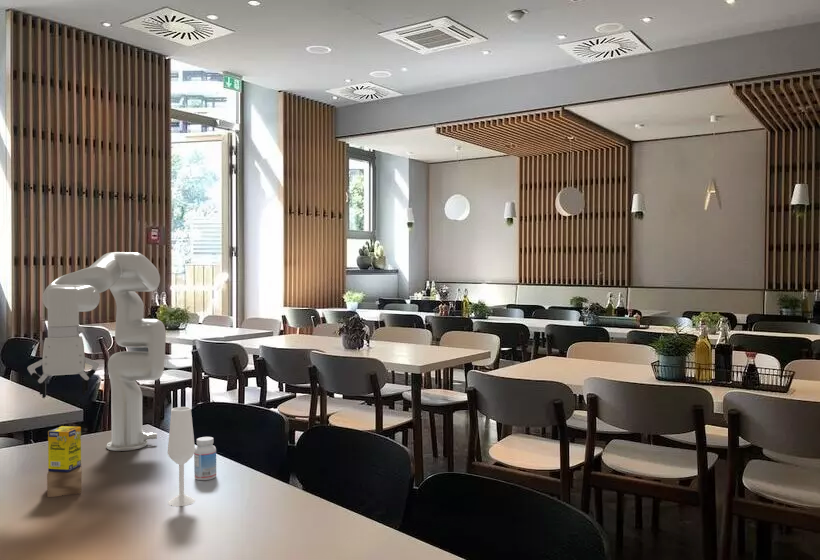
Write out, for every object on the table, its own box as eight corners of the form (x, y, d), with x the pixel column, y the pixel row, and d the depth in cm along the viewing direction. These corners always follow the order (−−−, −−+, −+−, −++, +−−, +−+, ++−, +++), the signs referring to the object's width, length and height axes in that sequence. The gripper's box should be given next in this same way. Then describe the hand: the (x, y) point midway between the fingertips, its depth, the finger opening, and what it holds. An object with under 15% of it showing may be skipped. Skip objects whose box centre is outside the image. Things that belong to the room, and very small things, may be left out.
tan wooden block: (81, 484, 190) (81, 463, 190) (81, 493, 183) (81, 471, 183) (49, 488, 187) (49, 466, 187) (47, 498, 180) (47, 475, 180)
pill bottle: (219, 474, 200) (219, 436, 199) (211, 481, 193) (211, 441, 193) (199, 474, 200) (199, 435, 200) (190, 480, 194) (190, 441, 194)
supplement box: (68, 472, 182) (68, 431, 182) (47, 472, 183) (47, 431, 182) (82, 466, 188) (81, 426, 187) (61, 465, 189) (61, 425, 188)
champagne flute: (194, 495, 181) (194, 405, 181) (196, 504, 175) (195, 410, 175) (167, 498, 179) (166, 407, 178) (168, 507, 173) (167, 412, 172)
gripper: (98, 329, 193) (99, 390, 193) (28, 332, 186) (29, 395, 186) (98, 332, 186) (99, 395, 186) (25, 335, 179) (26, 400, 179)
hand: (64, 395), depth 186 cm, fingers open, 9 cm apart
